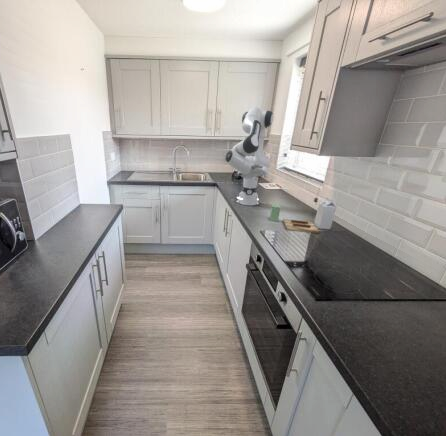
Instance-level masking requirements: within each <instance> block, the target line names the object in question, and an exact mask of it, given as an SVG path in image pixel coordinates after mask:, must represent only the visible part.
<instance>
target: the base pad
mask: <svg viewBox="0 0 446 436" xmlns="http://www.w3.org/2000/svg"><path fill="white" fill-rule="evenodd" d="M282 222H283V224H284V226H285V228H286V230H287V231H294V232H303V233H311V234H320V229H318V228H317V227H316V226H315V225H314V222H313V221H307V220H297V219H287V218H283V219H282Z"/></svg>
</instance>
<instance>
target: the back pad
mask: <svg viewBox="0 0 446 436" xmlns="http://www.w3.org/2000/svg"><path fill="white" fill-rule="evenodd" d="M281 207H282V206H280V205H277V204H276V205H275V204H271V209H270V212H269V213H270V214H269V221H272V222H279V217H280V212H281Z"/></svg>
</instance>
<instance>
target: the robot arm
mask: <svg viewBox="0 0 446 436" xmlns="http://www.w3.org/2000/svg"><path fill="white" fill-rule="evenodd" d="M273 122H274V113H273V111H271V110H261V109H260V107H257V106H255V107H251V108H250V109H249V110H248V111H244V113H243V114H242V117H241V124H242V125H241V128H242V130H243V132H245V134H249V135H248V136H247V137H245V138H244V139H242V140H241V141H240V142H238V143H236V144H235V145H234V146H233V147H232V148H231V149H230V150H228V151H227V153H226V155H225V162H226V163H227V164H228V165H229V166H231V167H232V168H234V169H235V170H237V176H240V177H241V178H242V179H243V182H242V187H241V192H239V193H238V196H237V197H236V198H237V200H236V201H235V203H237V204H240V205H243V206H256V205H260V203H259V198H258V197H259V194H258V193H257V191H258V181H259V177H260V176H264V178H265V179H266V178H269V174H268V173H269V169H270V167H271V160H270V158H269V157H268V156H267V155H266V154H265V151H264V142H265V137H266V129H268V128H269V127H270V126H272V123H273ZM253 153H254V155H251V154H253Z"/></svg>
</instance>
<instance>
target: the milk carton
mask: <svg viewBox="0 0 446 436" xmlns="http://www.w3.org/2000/svg"><path fill="white" fill-rule="evenodd" d="M336 211H337V206H336V205H335V204H334V202H333V200H332V199H331V198H328V197H326V198H325V199H324V200H322V201H321V202H319V204H318V207H317V210H316V214H315V218H314V221H313V224H314V225H315V226H316V228H317V229H318V230H331V229H332V225H333V222H334V219H335V214H336Z"/></svg>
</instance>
